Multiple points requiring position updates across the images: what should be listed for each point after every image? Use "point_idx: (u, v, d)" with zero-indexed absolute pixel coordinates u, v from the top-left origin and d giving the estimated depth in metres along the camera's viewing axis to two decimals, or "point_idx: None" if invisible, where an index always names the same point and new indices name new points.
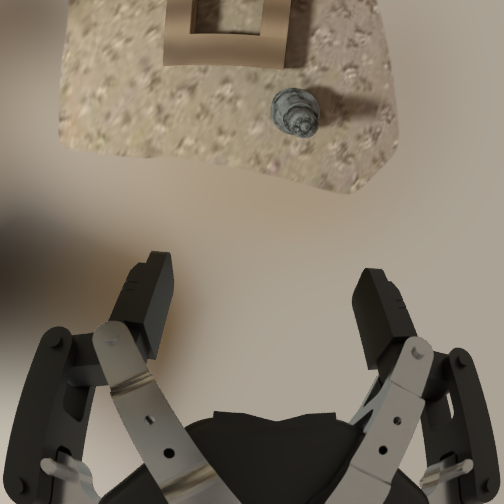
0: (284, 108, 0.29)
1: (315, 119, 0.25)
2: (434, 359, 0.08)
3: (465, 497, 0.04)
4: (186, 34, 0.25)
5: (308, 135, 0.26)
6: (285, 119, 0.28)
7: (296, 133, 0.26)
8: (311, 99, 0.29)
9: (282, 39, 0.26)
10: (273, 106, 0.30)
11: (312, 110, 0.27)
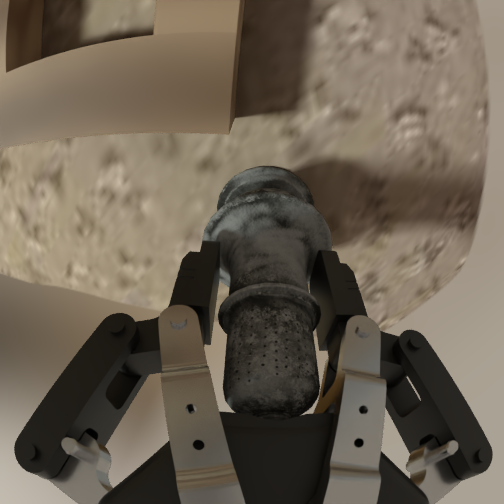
0: (231, 260, 0.12)
1: (310, 393, 0.07)
2: (384, 341, 0.09)
3: (460, 473, 0.05)
4: (3, 74, 0.07)
5: None
6: (225, 325, 0.10)
7: None
8: (311, 221, 0.12)
9: (222, 36, 0.08)
10: None
11: (309, 304, 0.09)
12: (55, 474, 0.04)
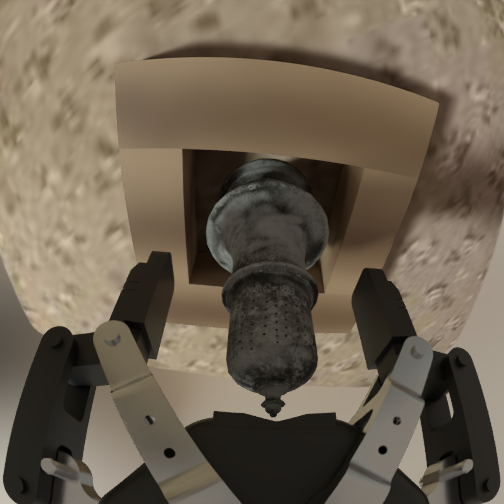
0: (234, 244, 0.12)
1: (309, 363, 0.08)
2: (434, 359, 0.08)
3: (465, 497, 0.04)
4: (182, 281, 0.17)
5: None
6: (228, 303, 0.11)
7: None
8: (309, 208, 0.12)
9: None
10: (211, 228, 0.13)
11: (307, 282, 0.10)
12: (48, 501, 0.03)
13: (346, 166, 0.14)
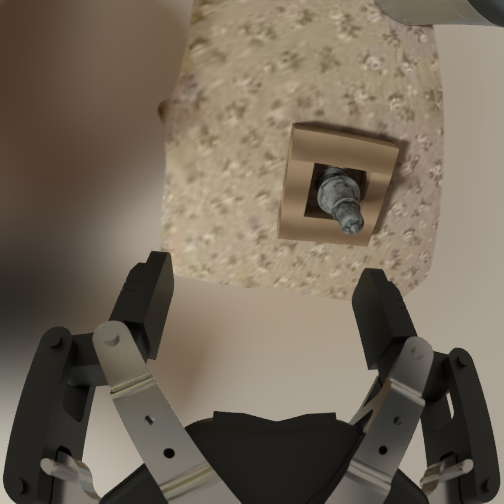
0: (331, 196, 0.35)
1: (362, 220, 0.30)
2: (434, 359, 0.08)
3: (465, 497, 0.04)
4: (300, 215, 0.39)
5: (355, 233, 0.31)
6: (334, 211, 0.33)
7: (345, 232, 0.31)
8: (354, 185, 0.35)
9: (372, 225, 0.40)
10: (320, 191, 0.36)
11: (357, 204, 0.33)
12: (48, 501, 0.03)
13: (365, 171, 0.37)
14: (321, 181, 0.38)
